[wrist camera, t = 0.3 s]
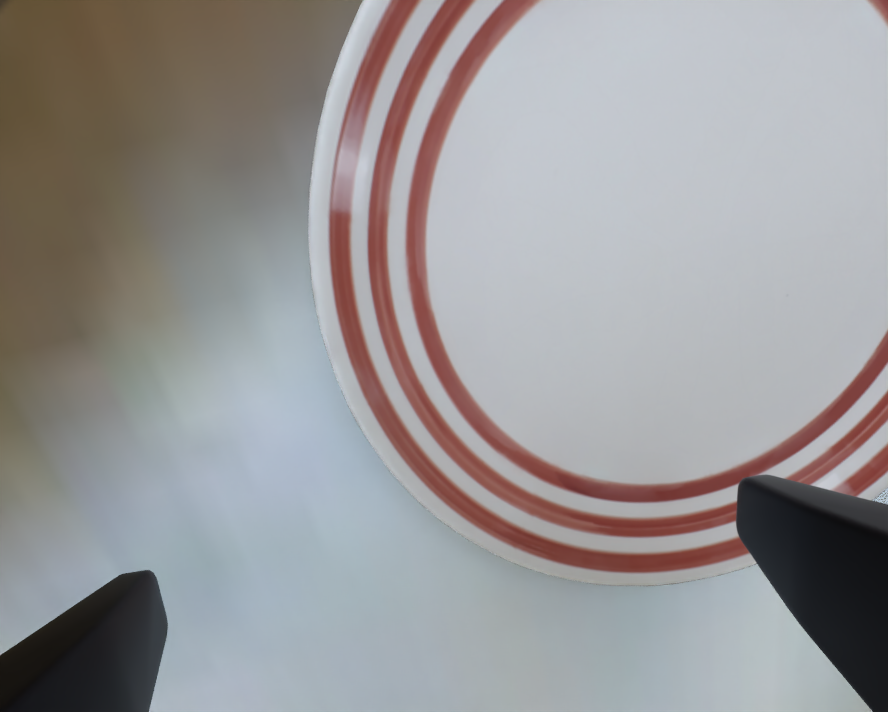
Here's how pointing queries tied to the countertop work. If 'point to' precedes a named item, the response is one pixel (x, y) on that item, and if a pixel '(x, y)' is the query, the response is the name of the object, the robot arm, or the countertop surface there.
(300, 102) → the countertop surface
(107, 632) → the robot arm
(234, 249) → the countertop surface
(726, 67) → the dinner plate
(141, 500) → the countertop surface
